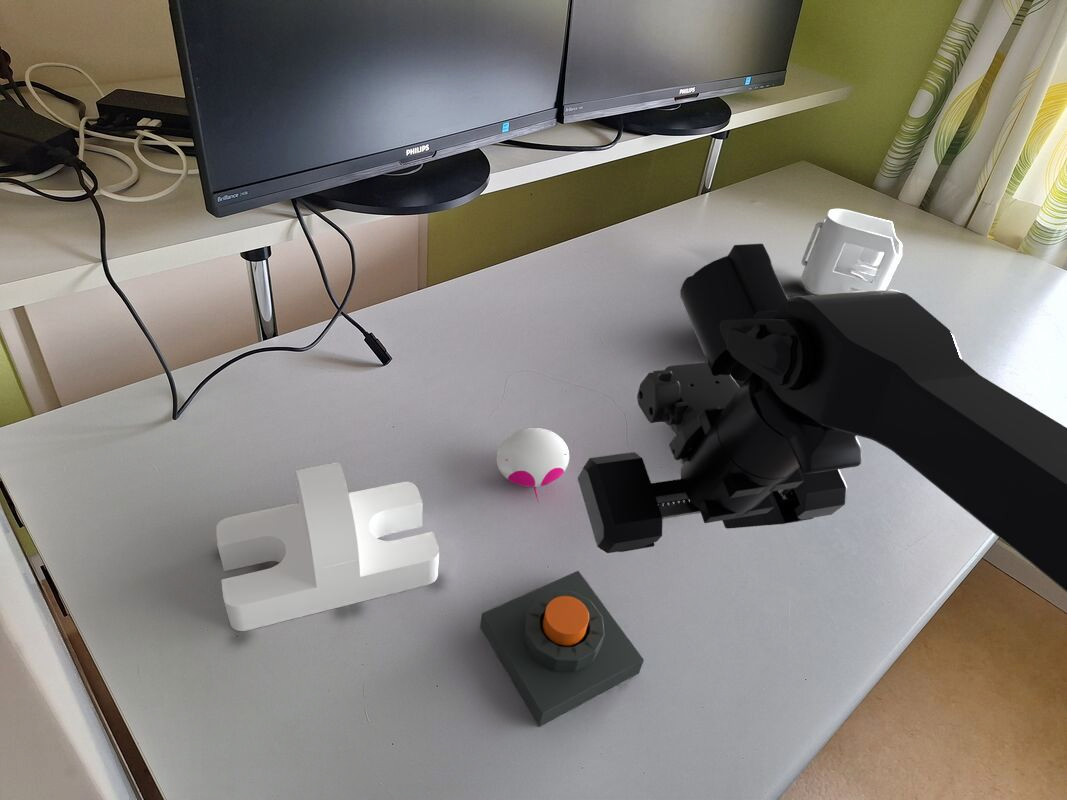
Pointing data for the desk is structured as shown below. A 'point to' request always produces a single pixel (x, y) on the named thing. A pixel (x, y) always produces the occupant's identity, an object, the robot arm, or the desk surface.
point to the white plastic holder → (850, 253)
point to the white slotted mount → (324, 550)
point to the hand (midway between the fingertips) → (673, 531)
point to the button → (565, 620)
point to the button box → (559, 650)
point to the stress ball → (533, 457)
